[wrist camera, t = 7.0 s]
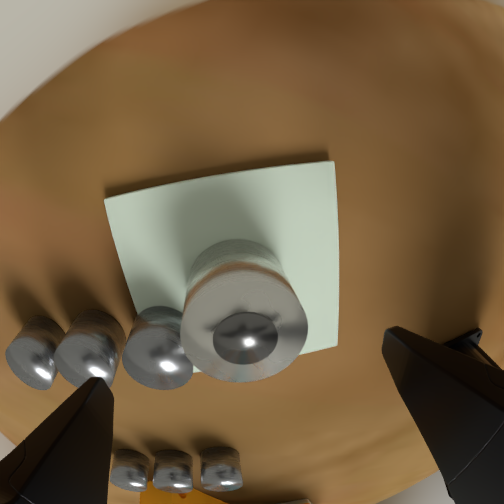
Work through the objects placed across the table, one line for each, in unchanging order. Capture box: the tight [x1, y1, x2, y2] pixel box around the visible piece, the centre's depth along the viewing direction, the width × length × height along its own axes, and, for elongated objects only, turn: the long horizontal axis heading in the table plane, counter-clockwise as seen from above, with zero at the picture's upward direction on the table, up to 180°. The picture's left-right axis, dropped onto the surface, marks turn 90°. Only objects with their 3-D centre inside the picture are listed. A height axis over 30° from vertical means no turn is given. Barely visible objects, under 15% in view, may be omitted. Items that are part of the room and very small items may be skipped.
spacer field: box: [6, 306, 243, 493], centre depth 15 cm, size 11×17×3 cm, turn 8°
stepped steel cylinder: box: [180, 239, 308, 382], centre depth 11 cm, size 4×4×4 cm
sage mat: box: [104, 161, 339, 372], centre depth 14 cm, size 10×10×1 cm
